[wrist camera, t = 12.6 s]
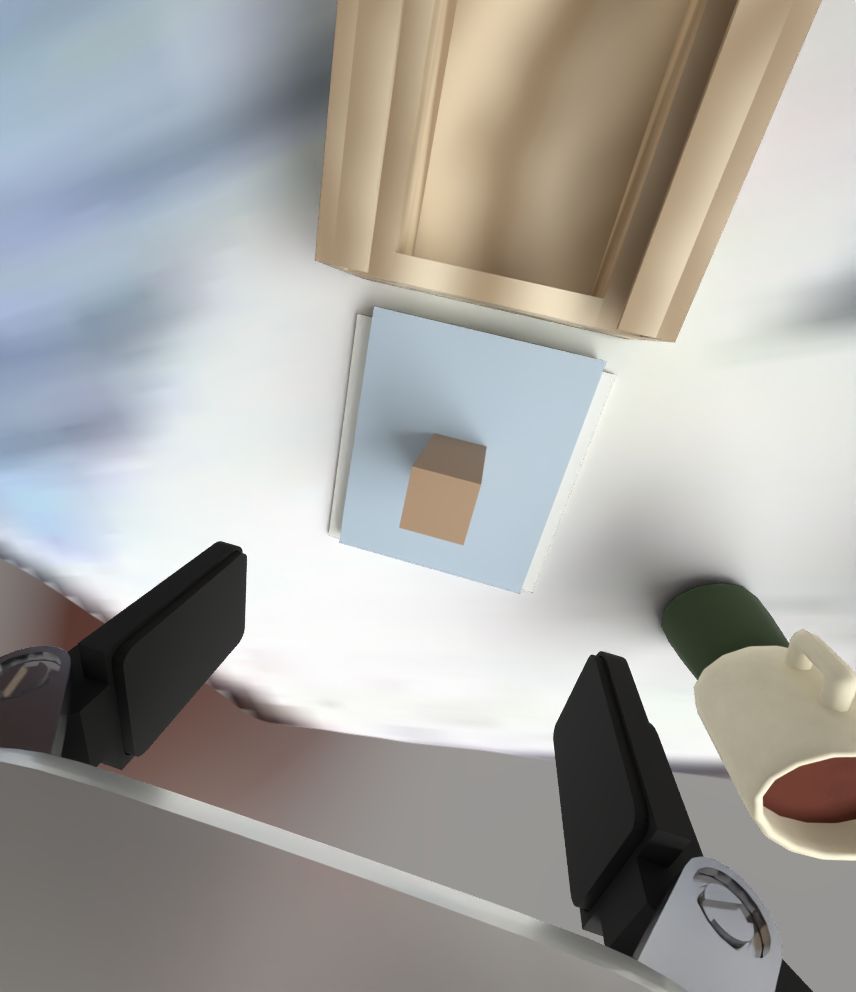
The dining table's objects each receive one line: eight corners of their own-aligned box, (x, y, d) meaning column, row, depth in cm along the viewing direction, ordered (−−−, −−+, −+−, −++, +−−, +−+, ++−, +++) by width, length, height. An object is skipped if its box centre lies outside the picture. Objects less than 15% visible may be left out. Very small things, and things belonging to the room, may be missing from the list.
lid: (601, 360, 24) (646, 373, 16) (519, 584, 30) (524, 667, 23) (379, 307, 25) (326, 297, 17) (344, 535, 31) (295, 599, 24)
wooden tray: (808, -130, 16) (1004, -426, 10) (628, 339, 24) (675, 342, 17) (424, -184, 18) (379, -477, 11) (363, 278, 25) (314, 260, 18)
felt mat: (615, 374, 24) (616, 375, 24) (531, 590, 31) (532, 592, 30) (359, 314, 26) (357, 313, 25) (329, 534, 32) (328, 535, 32)
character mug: (747, 677, 30) (903, 900, 18) (643, 670, 32) (727, 873, 20) (783, 547, 26) (1012, 723, 15) (663, 544, 28) (782, 704, 16)
